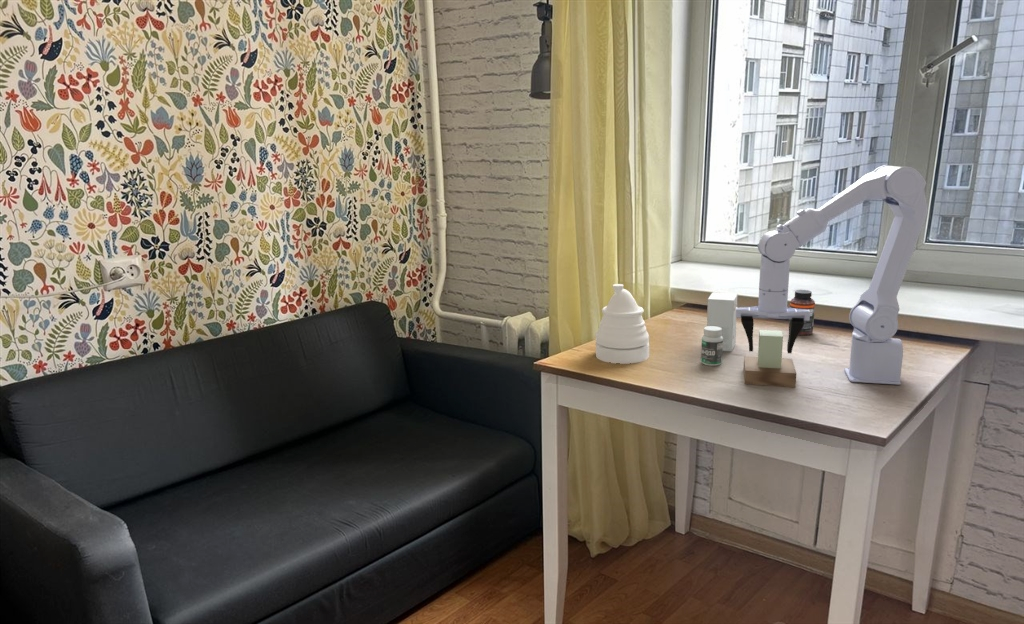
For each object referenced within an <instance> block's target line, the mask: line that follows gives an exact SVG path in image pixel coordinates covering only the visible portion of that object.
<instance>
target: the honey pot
mask: <svg viewBox="0 0 1024 624" xmlns="http://www.w3.org/2000/svg"><path fill="white" fill-rule="evenodd" d="M624 286H625V285H624V284H622V283H614V284H612V289H613V291H614V293H613V294H612V296H611V297H610V299H609V301H608V302H607V305H605V306H603V308H601V313H602V318H601V320H600V321H599V326H598V330H597V332H596V333H595V356H596V358H597V359H598V360H600V361H601V362H606V363H609V362H611V364H616V363H620V365H622V364H623V365H626V364H627V365H628V364H630V363H631V364H637V363H642V362H645V361H646V360H648V359H649V357H650V343H649V342H650V340H649V339H650V335H649V332H648V331H647V326H646V325H645V324H646V322H645V320H644V318H643V316H642V315H643V313H644V312H645V309H644V308H643V307H642V306H639V305H638V303H637V301H636V299H635V298H634V296H633V295H632V293H631V292H630V291H629V290H628V289H625V288H624Z"/></svg>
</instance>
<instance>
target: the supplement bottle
mask: <svg viewBox="0 0 1024 624" xmlns="http://www.w3.org/2000/svg"><path fill="white" fill-rule="evenodd" d="M812 296H813V293H812V291H811V290H808V289H797V290H795V291H794V297H793V298H791V300H790V304H789V308H795V309H806V310H809V311H810V320H809V321H805V320H804V326H803V328H802V329H801V331H800V332H799V334H798V336H810V335H812V334H813V332H814V322H815V308H816V301H815V299H813V298H812ZM809 334H810V335H809Z"/></svg>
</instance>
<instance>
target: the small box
mask: <svg viewBox="0 0 1024 624" xmlns="http://www.w3.org/2000/svg"><path fill="white" fill-rule="evenodd" d="M738 295H739V294H738V293H736V292H735V293H734V292H720V291H719V292H715V291H714V292H713V291H712V292H711V293H710V295H709V296H708V298H707V309H706V312H707V313H706V327H707V326H716V327H720V328H722V335H721V336H722V337H723V351H722V352H733V351H734V348H735V345H736V343H737V341H736V340H737V319H738V318H736V307H738Z"/></svg>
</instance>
